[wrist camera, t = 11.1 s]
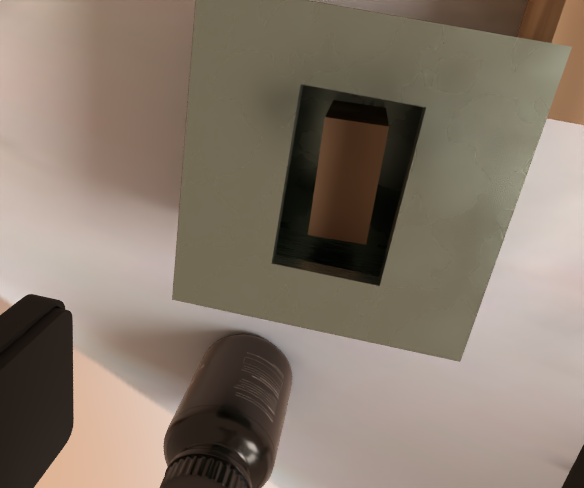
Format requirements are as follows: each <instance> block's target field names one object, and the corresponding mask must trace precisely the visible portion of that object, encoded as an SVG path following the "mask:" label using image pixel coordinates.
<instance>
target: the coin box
mask: <svg viewBox="0 0 584 488" xmlns="http://www.w3.org/2000/svg"><path fill="white" fill-rule="evenodd" d="M571 49H572V47H570V46H565V45H559V44H553V43H547V42H542V41H536V40H530V39H525V38H519V37H513V36H508V35H502V34H496V33H490V32H485V31H479V30H473V29H468V28H462V27H456V26H450V25H445V24H439V23H433V22H428V21H422V20H416V19H411V18H405V17H399V16H393V15H388V14H382V13H376V12H371V11H365V10H359V9H354V8H348V7H342V6H336V5H331V4H325V3H319V2H314V1H308V0H196V2H195V15H194V28H193V41H192V53H191V66H190V79H189V92H188V104H187V117H186V130H185V143H184V155H183V168H182V181H181V194H180V206H179V219H178V232H177V245H176V257H175V270H174V283H173V296H172V300H177V301H182V302H186V303H191V304H196V305H200V306H205V307H210V308H214V309H219V310H223V311H228V312H233V313H237V314H242V315H247V316H251V317H256V318H260V319H265V320H270V321H274V322H279V323H284V324H288V325H293V326H298V327H302V328H307V329H311V330H316V331H321V332H325V333H330V334H335V335H339V336H344V337H349V338H353V339H358V340H362V341H367V342H372V343H376V344H381V345H386V346H390V347H395V348H399V349H404V350H409V351H413V352H418V353H423V354H427V355H432V356H437V357H441V358H446V359H450V360H455V361H461V358H462V355H463V352H464V349H465V347H466V344H467V341H468V338H469V335H470V333H471V330H472V327H473V324H474V321H475V318H476V316H477V313H478V310H479V307H480V304H481V302H482V299H483V296H484V293H485V290H486V288H487V285H488V282H489V279H490V276H491V273H492V271H493V268H494V265H495V262H496V259H497V257H498V254H499V251H500V248H501V245H502V243H503V240H504V237H505V234H506V231H507V229H508V226H509V223H510V220H511V217H512V214H513V212H514V209H515V206H516V203H517V200H518V198H519V195H520V192H521V189H522V186H523V184H524V181H525V178H526V175H527V172H528V169H529V167H530V164H531V161H532V158H533V155H534V153H535V150H536V147H537V144H538V141H539V139H540V136H541V133H542V130H543V127H544V124H545V122H546V119H547V116H548V113H549V110H550V108H551V105H552V102H553V99H554V96H555V94H556V91H557V88H558V85H559V82H560V79H561V77H562V74H563V71H564V68H565V65H566V63H567V60H568V57H569V54H570V51H571ZM333 100H337V101H344V102H351V103H358V104H365V105H372V106H378V107H385V108H386V111H387V117H388V123H389V130H388V135H387V140H386V145H385V150H384V155H383V161H382V166H381V171H380V176H379V181H378V186H377V191H376V197H375V202H374V207H373V212H372V217H371V222H370V227H369V233H368V238H367V243H366V245H365V244H359V243H353V242H347V241H341V240H335V239H329V238H323V237H317V236H311V235H308V231H309V224H310V217H311V210H312V203H313V196H314V189H315V182H316V175H317V168H318V161H319V154H320V147H321V140H322V133H323V127H324V120H325V116H326V114H327V112H328V110H329V108H330V106H331V104H332V102H333Z"/></svg>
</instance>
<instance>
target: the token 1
mask: <svg viewBox="0 0 584 488" xmlns="http://www.w3.org/2000/svg"><path fill="white" fill-rule="evenodd" d="M388 130H389V123H388V117H387V111H386V108H385V107H378V106H372V105H365V104H358V103H351V102H344V101H337V100H333V102H332V104H331V106H330V108H329V110H328V112H327V114H326V116H325V120H324V127H323V133H322V140H321V147H320V154H319V161H318V168H317V175H316V182H315V189H314V196H313V203H312V210H311V217H310V224H309V231H308V235H311V236H317V237H323V238H329V239H335V240H341V241H347V242H353V243H359V244H365V245H366V243H367V238H368V233H369V227H370V222H371V217H372V212H373V207H374V202H375V197H376V191H377V186H378V181H379V176H380V171H381V166H382V161H383V155H384V150H385V145H386V140H387V135H388Z"/></svg>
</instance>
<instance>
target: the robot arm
mask: <svg viewBox="0 0 584 488" xmlns="http://www.w3.org/2000/svg"><path fill="white" fill-rule="evenodd" d="M72 428H73V325H72V314H71V312H70V311H68V310H65V306H64V304H63V302H62V301H60V300H56V299H51V298H47V297H42V296H38V295H33V294H29V295H27V296H25V297H23V298H22V299H21V300H19V301H18V302H17V303H16V304H14V305H13V306H12V307H10V308H9V309H8V310H7V311H5V312H4V313H3V314H1V315H0V488H34V487H35V485H36V484H37V482H38V481H39V480H40V478H41V477H42V476H43V474H44V473H45V472H46V470H47V469H48V468H49V466H50V465H51V463H52V462H53V461H54V459H55V458H56V457H57V455H58V454H59V453H60V451H61V450H62V449H63V447H64V446H65V444H66V443H67V441H68V439H69V437H70V435H71V432H72ZM562 488H584V445H583V447H582V449H581V451H580V453H579V455H578V457H577V459H576V461H575V463H574V465H573V466H572V468H571V470H570V472H569V474H568V476H567V478H566V480H565V482H564V484H563V486H562Z"/></svg>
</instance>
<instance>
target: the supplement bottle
mask: <svg viewBox="0 0 584 488" xmlns="http://www.w3.org/2000/svg"><path fill="white" fill-rule="evenodd" d="M291 386H292V372H291V368H290V365H289V362H288V360H287V359H286V357H285V356H284V354H283V353H282V352H281V351H280V350H279V349H278V348H277V347H276V346H275V345H273V344H272V343H270V342H269V341H267V340H265V339H263V338H260V337H257V336H253V335H247V334H237V335H231V336H227V337H224V338H222V339H220V340H218V341H217V342H215V343H214V344H213V345H212V346H211V347H210V348H209V349H208V351H207V352H206V354H205V355H204V357H203V359H202V361H201V363H200V365H199V367H198V369H197V371H196V373H195V375H194V377H193V379H192V381H191V383H190V385H189V387H188V389H187V391H186V393H185V395H184V397H183V399H182V401H181V403H180V405H179V407H178V409H177V411H176V413H175V415H174V417H173V419H172V421H171V423H170V425H169V428H168V430H167V433H166V435H165V439H164V455H165V460H166V463H167V466H168V468H167V470H166V472H165V477H164V479H163V481H162V483H161V486H160V488H261V487H262V486H263V485H264V484H265V483H266V482H267V481H268V479H269V477H270V475H271V473H272V470H273V467H274V463H275V459H276V454H277V450H278V445H279V441H280V436H281V432H282V427H283V423H284V418H285V414H286V409H287V405H288V400H289V396H290V391H291Z"/></svg>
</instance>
